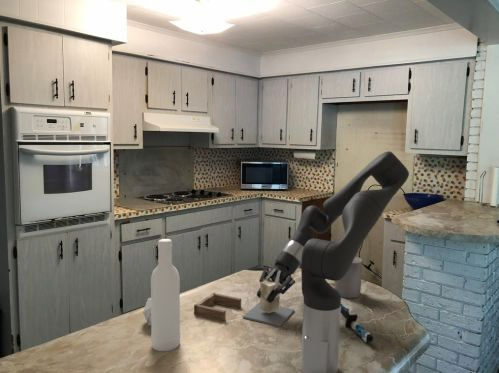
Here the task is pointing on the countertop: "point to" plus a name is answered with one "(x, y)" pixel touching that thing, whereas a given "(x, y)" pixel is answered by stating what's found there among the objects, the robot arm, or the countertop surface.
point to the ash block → (265, 291)
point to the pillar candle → (351, 280)
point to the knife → (355, 325)
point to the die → (148, 311)
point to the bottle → (165, 301)
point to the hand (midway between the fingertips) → (263, 298)
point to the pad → (269, 315)
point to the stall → (206, 311)
